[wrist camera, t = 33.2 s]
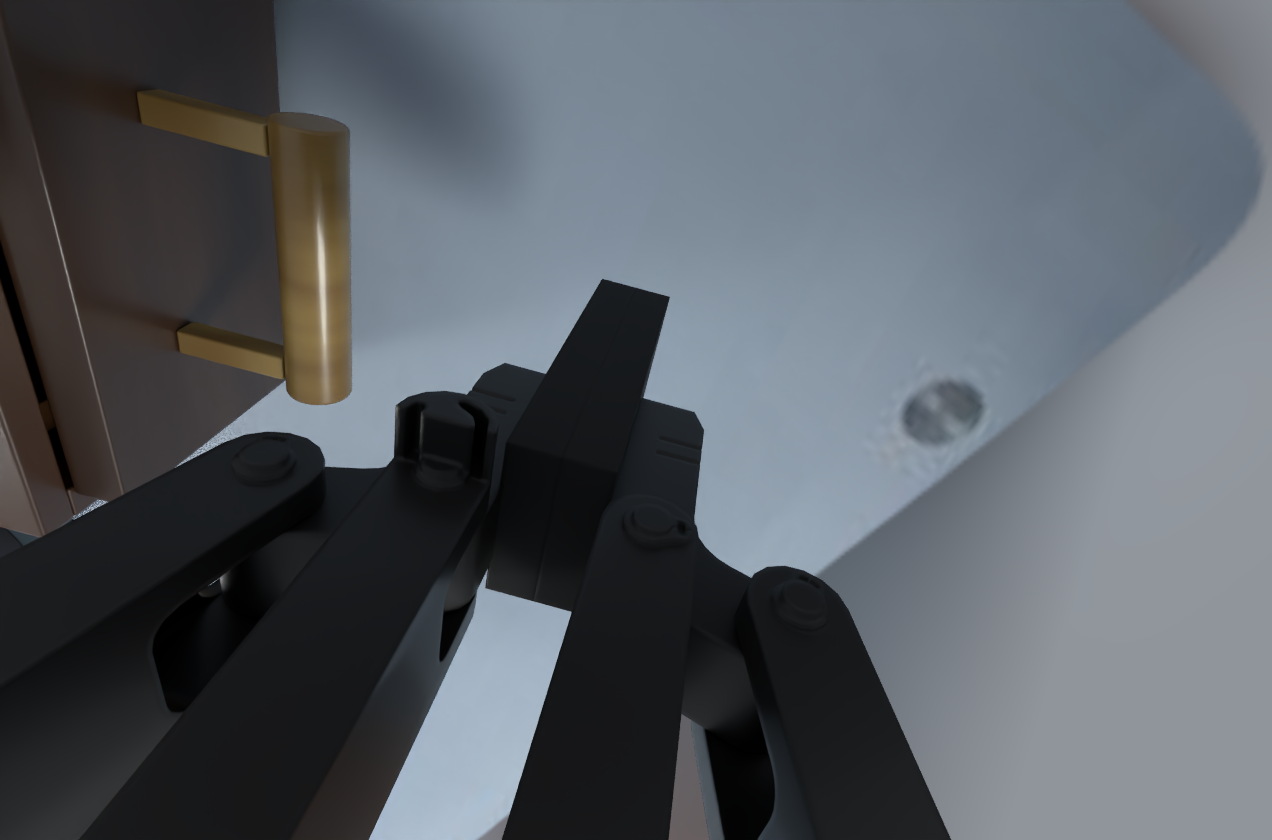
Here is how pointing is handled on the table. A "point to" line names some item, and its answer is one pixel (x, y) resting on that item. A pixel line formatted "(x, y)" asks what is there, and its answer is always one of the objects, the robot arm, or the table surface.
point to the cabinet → (29, 448)
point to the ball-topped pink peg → (7, 542)
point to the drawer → (165, 228)
